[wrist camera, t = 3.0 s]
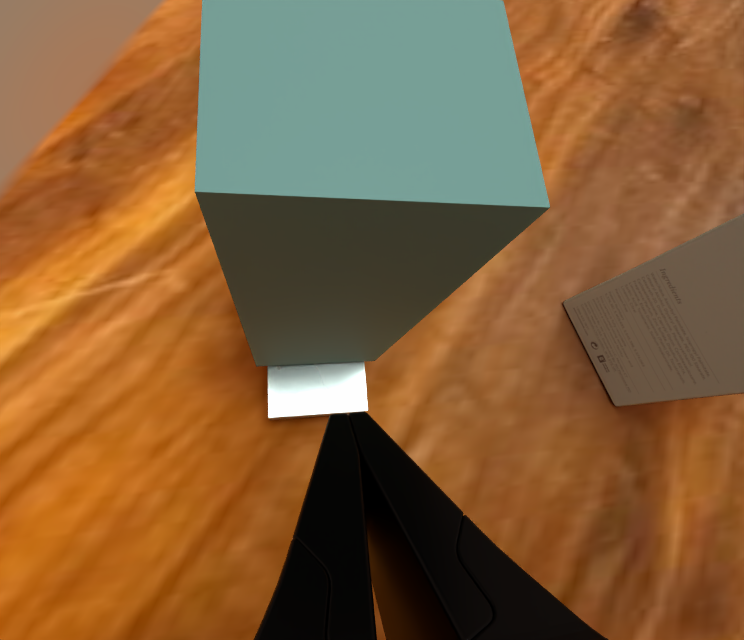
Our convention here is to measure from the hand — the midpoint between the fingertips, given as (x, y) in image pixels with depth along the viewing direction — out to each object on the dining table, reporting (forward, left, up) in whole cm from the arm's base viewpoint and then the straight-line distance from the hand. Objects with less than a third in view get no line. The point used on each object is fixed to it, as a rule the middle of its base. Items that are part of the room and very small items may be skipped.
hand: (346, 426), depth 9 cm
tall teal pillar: (+4, +2, -7) cm, 8 cm away
